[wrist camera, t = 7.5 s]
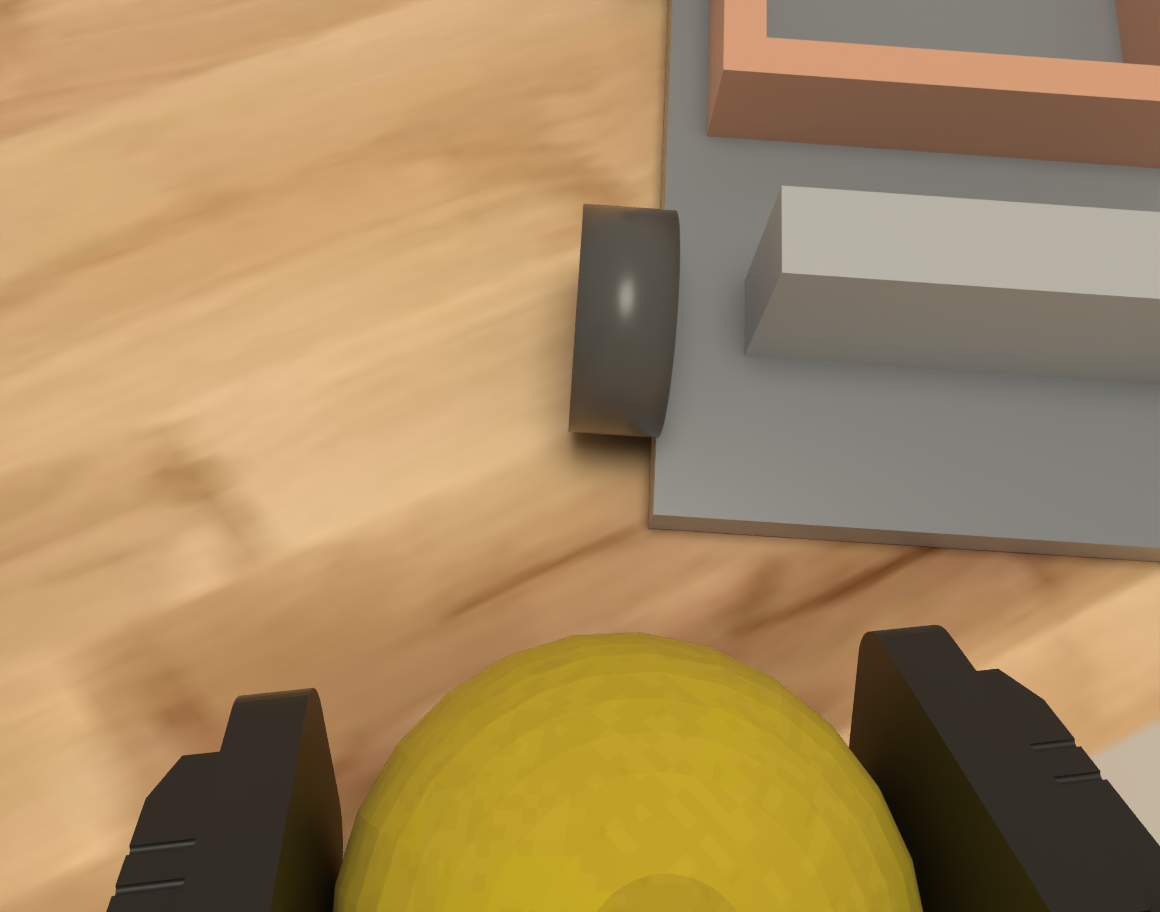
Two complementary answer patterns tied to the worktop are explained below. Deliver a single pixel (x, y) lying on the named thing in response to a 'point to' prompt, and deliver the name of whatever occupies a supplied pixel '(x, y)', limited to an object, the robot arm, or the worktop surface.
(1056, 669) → the worktop surface
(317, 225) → the worktop surface
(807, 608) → the worktop surface
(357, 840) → the lemon
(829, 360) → the chassis
